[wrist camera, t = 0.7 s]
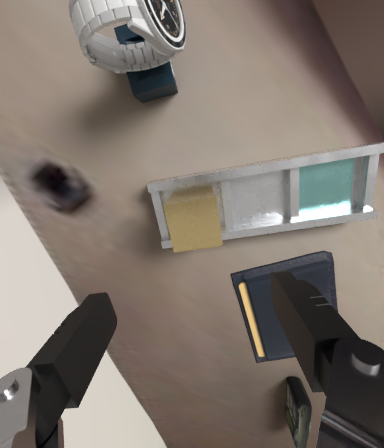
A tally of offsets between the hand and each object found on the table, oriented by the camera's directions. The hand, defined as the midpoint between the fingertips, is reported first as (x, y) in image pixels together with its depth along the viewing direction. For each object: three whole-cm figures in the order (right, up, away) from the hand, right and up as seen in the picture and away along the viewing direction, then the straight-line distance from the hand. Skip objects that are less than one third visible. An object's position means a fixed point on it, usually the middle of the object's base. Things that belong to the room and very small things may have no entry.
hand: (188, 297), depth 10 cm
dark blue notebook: (+16, -11, +23) cm, 30 cm away
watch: (-4, +21, +12) cm, 24 cm away
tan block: (+1, +6, +16) cm, 17 cm away
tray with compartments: (+9, +7, +16) cm, 20 cm away
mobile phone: (+20, -31, +30) cm, 48 cm away
